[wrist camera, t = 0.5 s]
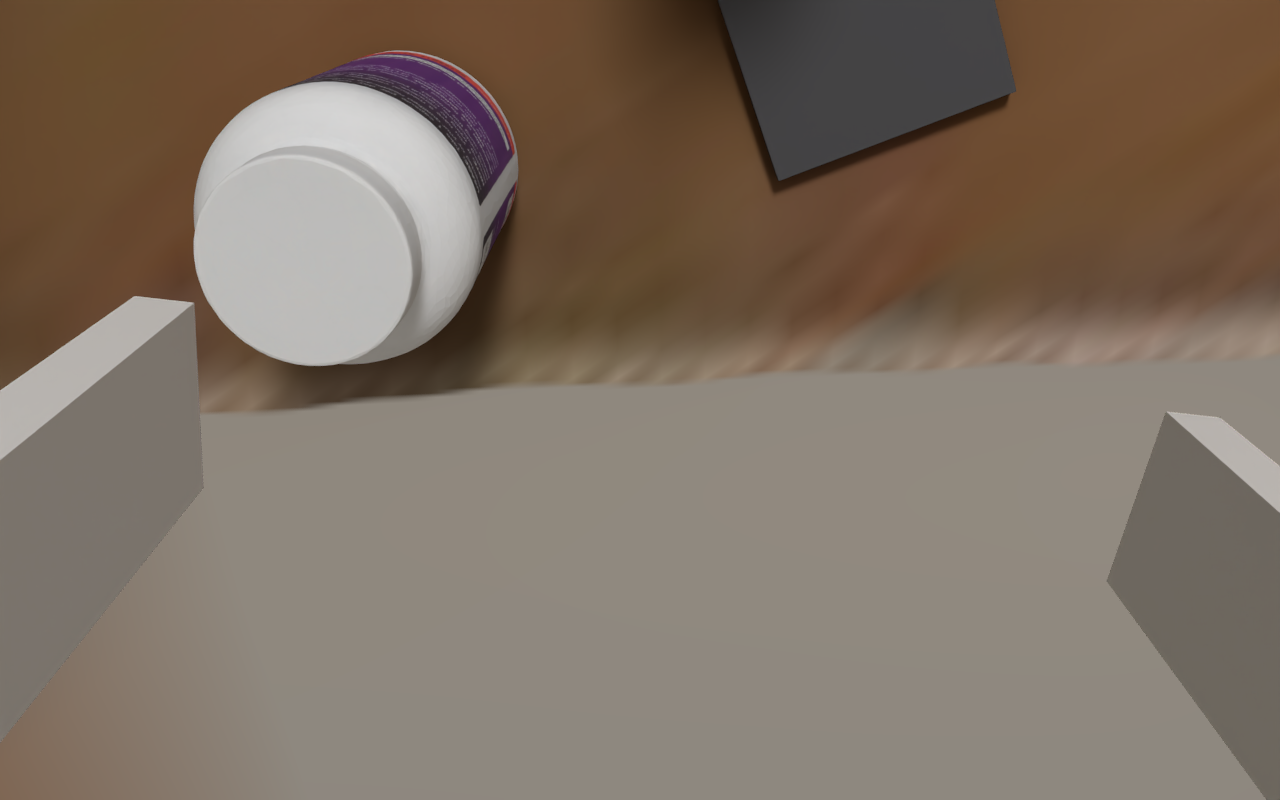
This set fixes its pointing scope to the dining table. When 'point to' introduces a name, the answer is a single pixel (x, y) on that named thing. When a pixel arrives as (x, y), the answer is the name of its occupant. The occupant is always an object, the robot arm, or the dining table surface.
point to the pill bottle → (353, 209)
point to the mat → (861, 70)
